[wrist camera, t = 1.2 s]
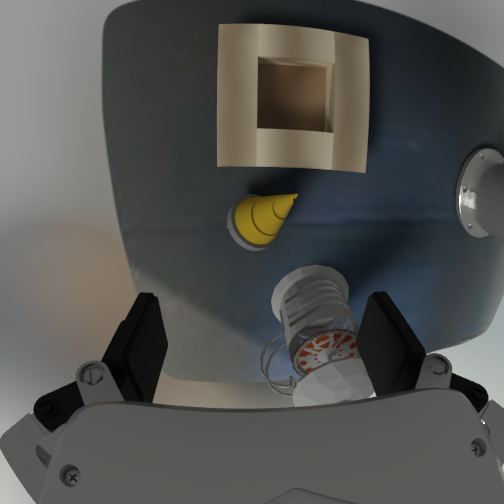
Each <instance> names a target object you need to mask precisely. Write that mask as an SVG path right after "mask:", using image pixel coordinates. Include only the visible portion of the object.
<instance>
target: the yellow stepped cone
mask: <svg viewBox="0 0 504 504" xmlns="http://www.w3.org/2000/svg"><path fill="white" fill-rule="evenodd" d="M296 197H297V194H287V195H275V196H265V197H262V196H259V195H255V194H249V195H245V196H243V197H241V198H239V199H238V200H237V201H236V202H235V203H234V204H233V205H232V206H231V207H230V210H229V212H228V216H227V224H228V225H227V226H226V227H227V228H228V229H229V231H230V234H231V235H232V237H233V239H234V240H235V241H236V242H237V243H238V244H239V245H241V246H242V247H244V248H246V249H248V250H252V251H259V250H263V249H266V248H268V247H270V246H272V245H273V244H274V243H275V242H276V241H277V240H278V238H279V237H280V234H281V229H282V224H283V222H284V220H285V218H286V216H287V214H288V212H289V211H290V209H291V207H292V205H293V203H294V199H296Z"/></svg>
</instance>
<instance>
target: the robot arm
mask: <svg viewBox="0 0 504 504" xmlns="http://www.w3.org/2000/svg"><path fill="white" fill-rule="evenodd" d="M456 210H457V216H458V219H459V222H460V224H461V225H462V227H463V229H464V230H465V231H466V232H468V233H469V234H470V235H472V236H474V237H479V238H482V237H486V236H488V235H492V236H493V237H495V238H496V239H498V240H499V241H501V242H502V243H504V158H503V156H502V155H501V154H500V153H499V152H497V151H496V150H494V149H490V148H480V149H477V150H476V151H474V152H473V153H472V154H471V155H470V156H469V157H468V159H467V160H466V162H465V163H464V165H463V167H462V170H461V172H460V175H459V178H458V183H457V188H456ZM356 346H357V349H358V351H359V354H360V356H361V358H362V361H363V363H364V366H365V368H366V371H367V373H368V376H369V378H370V381H371V383H372V386H373V388H374V391H375V393H376V396H377V397H372V398H366V399H360V400H354V401H347V402H340V403H332V404H323V405H314V406H302V407H288V408H267V409H224V408H223V409H222V408H201V407H188V406H174V405H164V404H154V403H152V402H153V398H154V394H155V390H156V387H157V383H158V380H159V376H160V372H161V369H162V366H163V362H164V359H165V355H166V352H167V348H168V341H167V337H166V333H165V328H164V324H163V320H162V315H161V310H160V306H159V301H158V297H157V296H154V294H153V293H142V292H141V293H139V295H138V297H137V298H136V300H135V302H134V304H133V306H132V308H131V310H130V311H129V313H128V315H127V317H126V319H125V320H123V321H122V322H121V323H120V325H119V327H118V329H117V330H116V333H115V334H114V336H113V338H112V340H111V342H110V344H109V346H108V348H107V350H106V352H105V354H104V356H103V358H102V360H101V361H89V362H86V363H84V364H83V365H82V366H80V367H79V369H78V370H77V372H76V381H74V382H72V383H70V384H68V385H66V386H64V387H61V388H59V389H57V390H55V391H53V392H50V393H48V394H46V395H43V396H42V397H40V398H39V399H38V400H37V401H36V403H35V405H34V409H33V410H34V413H33V414H32V415H30V414H29V413H28V414H27V415H25V416H24V417H23V418H22V419H21V420H19V421H18V422H17V423H16V424H15V425H13V426H12V427H11V428H10V429H9V430H7V431H6V432H5V433H4V434H3V435H2V436H1V439H0V449H1V451H2V453H3V455H4V456H5V458H6V460H7V461H8V463H9V465H10V466H11V468H12V470H13V471H14V473H15V474H16V476H17V477H18V479H19V480H20V482H21V483H22V485H23V486H24V488H25V489H26V491H27V492H28V493H29V495H30V496H31V497H32V499H33V500H34V501H35V502H36V504H504V472H503V469H502V465H503V463H504V408H502V407H501V406H500V405H499V404H497V403H496V402H495V401H493V400H491V401H489V400H488V394H487V391H486V390H485V388H484V387H482V386H481V385H480V384H477V383H475V382H473V381H470V380H467V379H466V378H463V377H461V376H458V375H456V374H454V373H452V365H451V363H450V361H449V360H448V359H447V358H446V357H445V356H443V355H441V354H436V353H432V354H429V355H426V354H425V349H424V347H423V346H422V344H421V343H420V341H419V340H418V338H417V336H416V335H415V333H414V332H413V330H412V329H411V327H410V326H409V324H408V323H407V321H406V320H405V318H404V317H403V315H402V314H401V312H400V311H399V310H398V308H397V307H396V305H395V304H394V302H393V301H392V299H391V298H390V297H389V295H388V294H387V293H386V292H385V291H382V292H373V294H372V295H370V296H369V298H368V301H367V305H366V308H365V312H364V315H363V319H362V322H361V325H360V328H359V332H358V335H357V338H356Z"/></svg>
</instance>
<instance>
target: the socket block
mask: <svg viewBox="0 0 504 504" xmlns="http://www.w3.org/2000/svg"><path fill="white" fill-rule="evenodd" d="M369 98H370V71H369V43H368V39H367V38H362V37H358V36H354V35H349V34H344V33H339V32H334V31H328V30H321V29H315V28H307V27H298V26H287V25H273V24H219V38H218V77H217V167H218V166H262V167H294V168H313V169H328V170H341V171H352V172H362V173H365V169H366V158H367V145H368V128H369Z"/></svg>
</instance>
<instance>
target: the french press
mask: <svg viewBox="0 0 504 504" xmlns="http://www.w3.org/2000/svg"><path fill="white" fill-rule="evenodd" d="M348 294H349V286H348V284H347V282H346V280H345V278H344V277H343V275H342V274H340V273H339V272H338V271H336V270H335V269H333V268H332V267H327V266H322V265H311V266H305V267H300V268H298V269H296V270H294V271H293V272H291V273H289V274H287V275H286V276H285V277H284V278H283V279H282V280H281V281H280V282H279V284H278V285H277V286H276V287H275V290H274V293H273V296H272V299H271V303H272V308H273V313H274V314H275V316H276V317H277V318H278V320H279V321H280V322H281V326H282V331H281V333H280V334H278V335H277V336H275V337H274V338H273V339H271V340H270V341H269V342H268V343H267V344H266V346H265V348H264V349H263V351H262V353H261V357H260V371H261V374H262V376H263V377H264V378H265V379H266V381H267V382H268V384H269V386H270V387H271V388H272V390H273V391H274V392H277V393H279V394H281V395H284V396H289V397H293V402H294V405H296V406H297V407H302V406H314V405H323V404H332V403H340V402H347V401H354V400H360V399H366V398H368V397H370V396H371V395H372V394H373V393H374V388H373V386H372V383H371V381H370V378H369V376H368V373H367V371H366V368H365V366H364V363H363V361H362V358H361V356H360V354H359V351H358V349H357V346H356V338H357V335H358V332H359V328H360V327H359V325H358V323H357V321H356V319H355V317H354V315H353V313H352V311H351V308H350V306H349V304H348V302H347V301H348ZM338 317H341V319H340V320H339V322H338V323H337V324H336V325H335V327H334V328H333V329H331V330H328V329H329V328H330V327H331V326H332V325H333V324H334V322H335V321H336V320H337V319H338ZM345 318H347V321H346V322H345V324H344V325H343V326H342V328H341V329H337V328H338V327H339V326H340V325H341V323H342V322H343V320H344V319H345ZM283 324H284V325H283ZM348 324H349V325H350V328H349V329H348V330H345V328H346V327H347V325H348ZM284 330H285V337H286V342H285V343H284V344H282V345H281V346H280V347H278V348H277V349H276V350H275V351H274V352H273V353H272V354H271V355H270V357H269V360H268V362H267V365H266V368H265V370H266V375H265V373H264V371H263V356H264V353H265V351H266V348H267V347H268V346H269V345H270V344H271V343H272V342H273V341H274V340H275V339H277V338H278V337H280V336H281V335H282V334H283V333H284ZM298 334H300V335H302V336H304V337H309V338H307V339H306V340H305V339H303V338H301V337H299V336H298ZM300 341H302V342H303V343H302V344H300ZM285 345H287V349H288V346H289V352H290V358H291V361H292V363H293V369H294V370H295V371H296V372H297V373H298V374H299V375H300V376H302V378H301V379H300V380H299V382H298V384H297V385H296V383H295V381H294V379H293V377H292V376H290V377H289V378H290V384H289V385H279V384H276V383H274V382H272V381H270V380H269V377H268V367H269V363H270V361H271V358H272V356H273V355H274V354H275V353H276V352H277V351H278V350H279V349H281V348H282V347H284V346H285ZM292 383H293V385H294V391H293V394H285V393H282V392H280V391H278V390H276V389H275V388H274V387H273V386H272V385H271V384H273V385H275V386H277V387H282V388H288V387H291V385H292Z"/></svg>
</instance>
